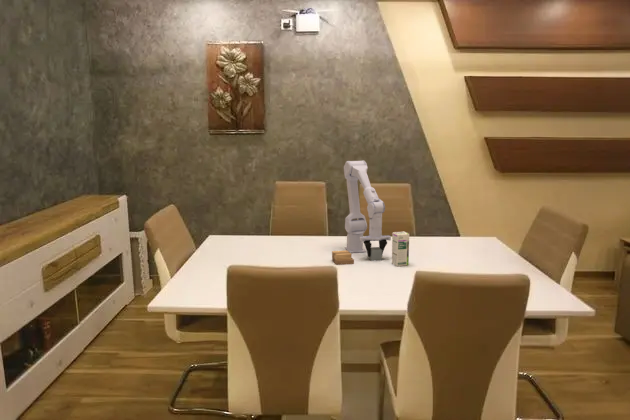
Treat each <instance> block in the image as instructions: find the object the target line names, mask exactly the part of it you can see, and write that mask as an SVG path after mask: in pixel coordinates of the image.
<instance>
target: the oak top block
mask: <svg viewBox="0 0 630 420" xmlns="http://www.w3.org/2000/svg"><path fill="white" fill-rule="evenodd" d="M332 257H333V258H334V259H335V260H351V258H352V253H350V252H349V251H348V250H346V249H344V250H331V258H332Z"/></svg>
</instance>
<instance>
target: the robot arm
mask: <svg viewBox="0 0 630 420" xmlns="http://www.w3.org/2000/svg"><path fill="white" fill-rule="evenodd" d="M368 168H369V167H368V163H367V162H366V161H365V160H363V159H362V160H346V161H345V163H344V165H343V174H344V179H345V180H346V187H347V196H348V197H347V198H348V207H349V213H348V215H347V216H346V217H345V218H344V221H345V222H344V229H345V231H346V233H347V235H346V246H345V247H344V250H347V251H348V252H350V253H351V254H352V253H367V258H368V257H370V256H371V247H372V243H371V242H375V241H378V247H379V248H380V249H382V255H383V254H384V250H385V248H386V246H387V244H388V241H392V236H391V235H383V231H382V230H383V228H382V227H383V214H384V213H385V211H386V205H385V202H384V201H383V200H382V199H381V198H380V197H379V195H378V193H377V192H376V189H375V188H374V187H372V185H371V181H370V178H369V176H368V173H367V172H368ZM358 182H359V183H360V184H361V186H362V188H363V193H362V194H363V196H364V198H365V200H366V203H367V207H366V211H367V213H368V218H369V224H368V223H367V222H368V221H367V219H366V215H364V214H363V213H362V212H361V205H360V204H361V203H360V196H359V195H360V194H359V186H358V185H359V184H358ZM368 225H369V227H368ZM367 229H368V230H369V231H368V235H365V236H364V234H365V233H366V231H367ZM364 247H365V249H366V250H365V249H364Z"/></svg>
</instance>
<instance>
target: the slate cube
mask: <svg viewBox="0 0 630 420" xmlns="http://www.w3.org/2000/svg"><path fill="white" fill-rule="evenodd" d="M367 259H369V261H371V262H372V261H373V262H375V261H374V260H376V261H382V260H383V254H382V249H380V248H379V246H374V247H373V246H371V256H370V257H368V256H367Z"/></svg>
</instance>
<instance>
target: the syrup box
mask: <svg viewBox="0 0 630 420" xmlns="http://www.w3.org/2000/svg"><path fill="white" fill-rule="evenodd" d="M391 235H392V236H391V243H392V244H391V264H393V265H394V266H395V267H403V266H404V267H405V266H409V259H410V258H409V257H410V256H409V254H410V233H409V232H406V231H394V232H392V233H391Z"/></svg>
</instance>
